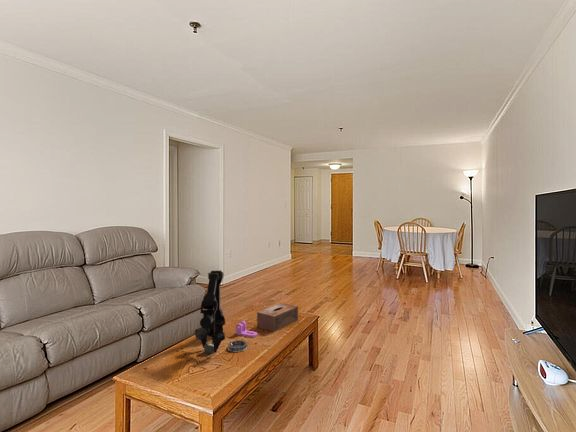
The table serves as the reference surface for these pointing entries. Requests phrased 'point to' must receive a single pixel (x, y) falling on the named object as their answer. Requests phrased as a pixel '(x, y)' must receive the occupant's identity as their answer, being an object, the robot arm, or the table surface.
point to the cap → (209, 348)
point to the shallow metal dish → (237, 346)
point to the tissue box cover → (277, 316)
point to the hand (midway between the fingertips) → (209, 350)
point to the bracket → (244, 330)
